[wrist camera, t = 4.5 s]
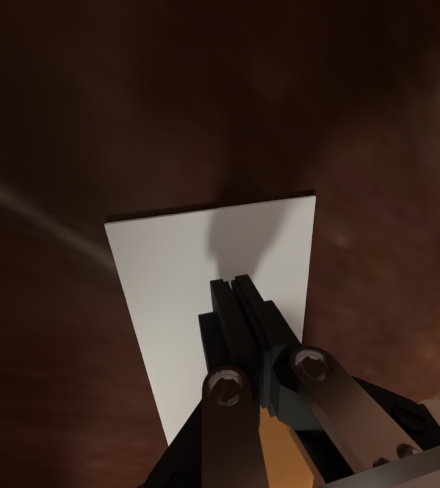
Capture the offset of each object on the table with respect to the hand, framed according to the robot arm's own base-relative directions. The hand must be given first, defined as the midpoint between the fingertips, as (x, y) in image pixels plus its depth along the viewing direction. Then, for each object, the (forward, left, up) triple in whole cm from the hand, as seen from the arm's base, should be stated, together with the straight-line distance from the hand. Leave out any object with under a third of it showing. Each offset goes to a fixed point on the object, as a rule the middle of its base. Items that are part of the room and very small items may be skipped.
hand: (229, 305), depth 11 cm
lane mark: (-5, 0, -2) cm, 5 cm away
